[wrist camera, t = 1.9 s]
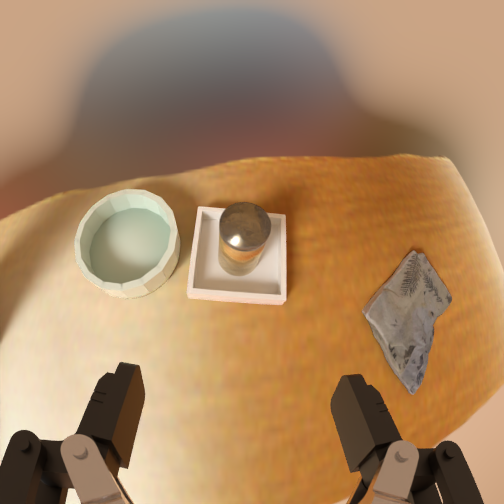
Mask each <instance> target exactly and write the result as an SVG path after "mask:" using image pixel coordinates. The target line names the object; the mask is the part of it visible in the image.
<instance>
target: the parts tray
mask: <svg viewBox="0 0 504 504" xmlns="http://www.w3.org/2000/svg"><path fill="white" fill-rule="evenodd" d="M224 210H225V209H224V208H213V207H200V206H198V211H197V217H196V224H195V231H194V238H193V245H192V253H191V260H190V268H189V277H188V285H187V295H188V298H192V299H203V300H215V301H227V302H240V303H255V304H271V305H282V304H283V303H284V302H285V301H286V215H284V214H275V213H267V214H268V216H269V218H270V221H271V232H270V235H269V237H268V240H267V241H266V244H265V246H264V249H263V251H262V254H261V256H260V258H259V261H258V263H257V266H256V268H255V269H254V270H253V271H252V272H251V273H249V274H247V275H245V276H233V275H230V274H228V273H227V272H225V271H224V270H223V269H222V268H221V266H220V264H219V261H218V247H219V220H220V217H221V215H222V213H223V211H224Z"/></svg>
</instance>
